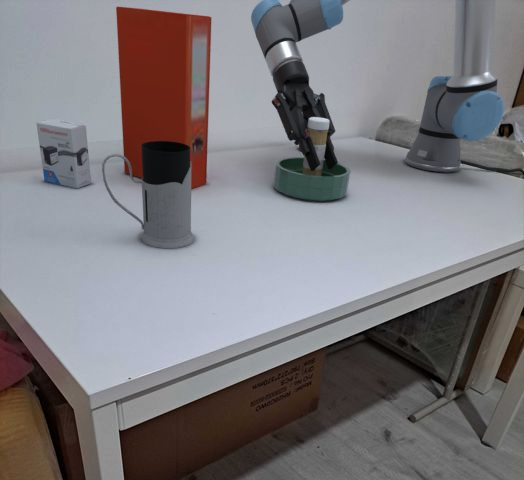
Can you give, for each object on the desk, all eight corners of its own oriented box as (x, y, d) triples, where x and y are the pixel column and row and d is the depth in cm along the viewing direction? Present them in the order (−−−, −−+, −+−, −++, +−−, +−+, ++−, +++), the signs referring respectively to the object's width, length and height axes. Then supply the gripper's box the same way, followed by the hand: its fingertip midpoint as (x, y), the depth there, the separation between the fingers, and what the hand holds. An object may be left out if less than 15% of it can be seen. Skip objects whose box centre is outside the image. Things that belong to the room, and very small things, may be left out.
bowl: (326, 180, 129) (330, 157, 126) (358, 201, 116) (363, 176, 113) (263, 181, 124) (265, 157, 121) (289, 203, 111) (292, 177, 108)
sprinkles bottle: (310, 178, 122) (319, 116, 114) (324, 183, 119) (334, 120, 111) (296, 180, 119) (304, 116, 112) (310, 186, 116) (319, 121, 109)
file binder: (148, 167, 125) (143, 8, 108) (207, 183, 118) (211, 16, 101) (124, 174, 119) (114, 6, 102) (184, 191, 112) (185, 14, 95)
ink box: (43, 181, 109) (34, 121, 103) (59, 176, 113) (51, 118, 107) (77, 189, 107) (70, 128, 101) (92, 183, 111) (86, 124, 105)
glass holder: (197, 247, 87) (199, 153, 79) (109, 250, 83) (101, 152, 75) (188, 228, 94) (189, 140, 86) (106, 230, 90) (98, 138, 82)
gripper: (309, 82, 124) (343, 172, 122) (247, 81, 115) (284, 179, 113) (327, 60, 117) (364, 154, 115) (263, 57, 108) (302, 159, 106)
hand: (324, 166), depth 114 cm, fingers closed on sprinkles bottle, 4 cm apart
